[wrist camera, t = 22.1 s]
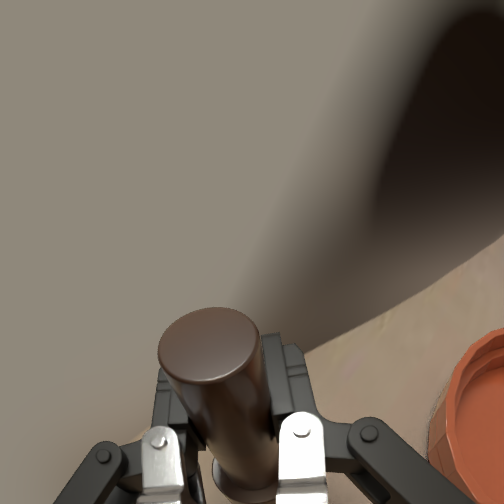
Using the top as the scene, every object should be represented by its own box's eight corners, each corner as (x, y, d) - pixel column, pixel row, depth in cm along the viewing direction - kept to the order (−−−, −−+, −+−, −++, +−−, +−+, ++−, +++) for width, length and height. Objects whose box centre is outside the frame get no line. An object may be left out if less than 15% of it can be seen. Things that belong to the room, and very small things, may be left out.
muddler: (211, 475, 15) (114, 330, 8) (269, 439, 16) (232, 272, 10) (251, 528, 12) (167, 441, 5) (314, 486, 13) (324, 345, 7)
